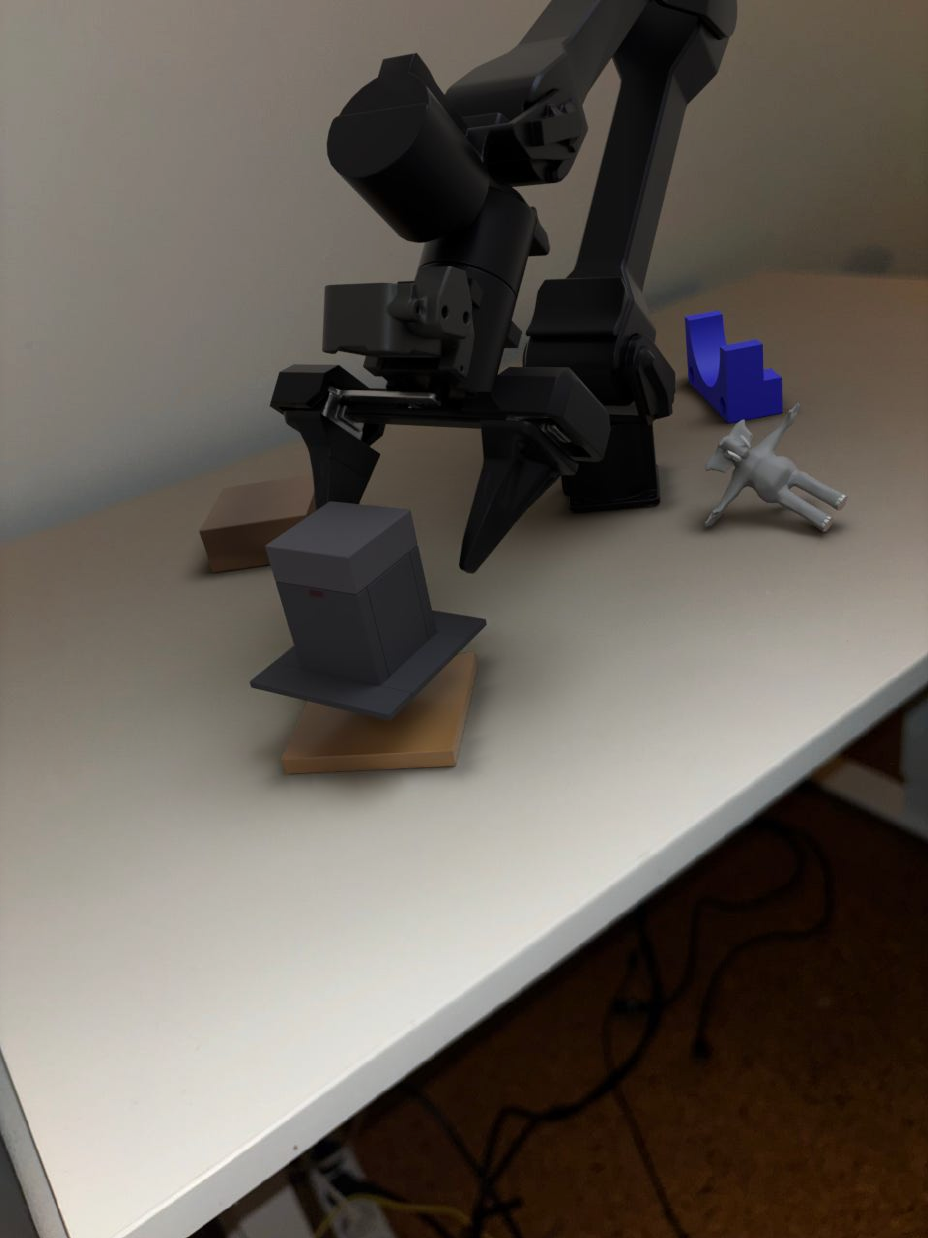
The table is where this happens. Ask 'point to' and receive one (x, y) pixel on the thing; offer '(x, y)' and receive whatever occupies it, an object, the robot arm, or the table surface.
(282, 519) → the hat block
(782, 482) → the elephant figurine
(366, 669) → the hat
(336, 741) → the hat stand
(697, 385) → the blue cradle bracket
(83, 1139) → the table surface
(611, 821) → the table surface
